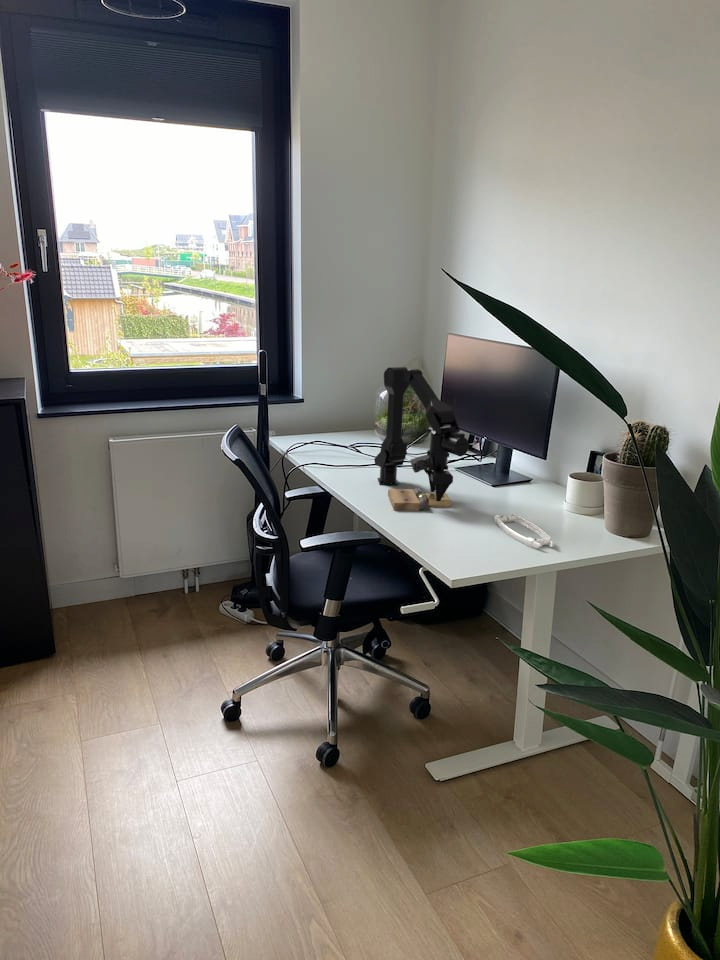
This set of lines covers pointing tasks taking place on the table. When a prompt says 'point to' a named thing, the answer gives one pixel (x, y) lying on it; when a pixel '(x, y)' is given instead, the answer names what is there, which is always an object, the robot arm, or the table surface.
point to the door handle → (527, 541)
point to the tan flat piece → (407, 499)
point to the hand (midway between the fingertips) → (435, 496)
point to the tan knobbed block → (432, 499)
